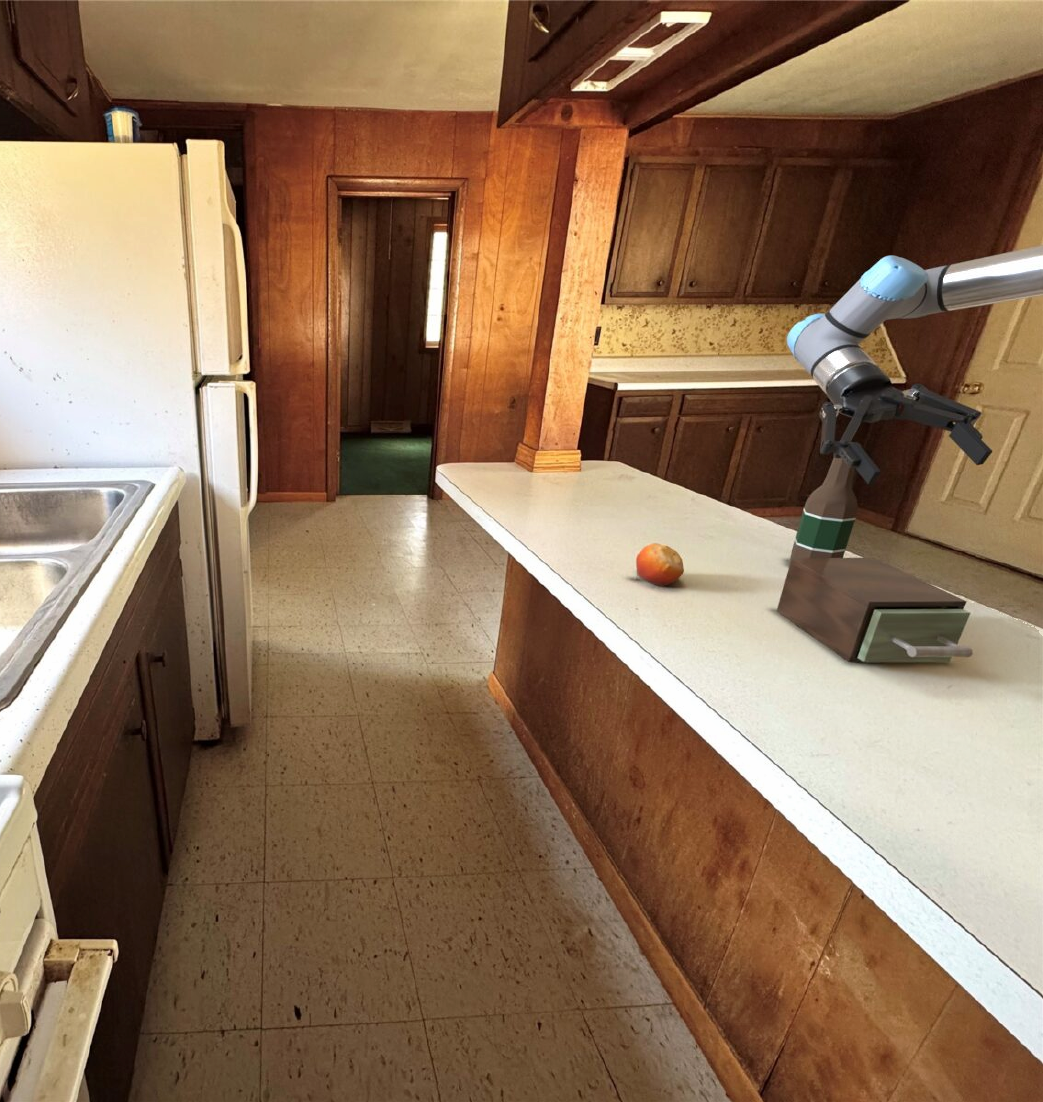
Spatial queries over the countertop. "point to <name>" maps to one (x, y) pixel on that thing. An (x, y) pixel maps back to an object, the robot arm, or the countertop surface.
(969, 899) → the countertop surface
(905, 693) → the countertop surface
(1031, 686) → the countertop surface
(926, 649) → the drawer
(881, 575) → the cabinet
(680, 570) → the fruit
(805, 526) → the beer bottle
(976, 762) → the countertop surface
